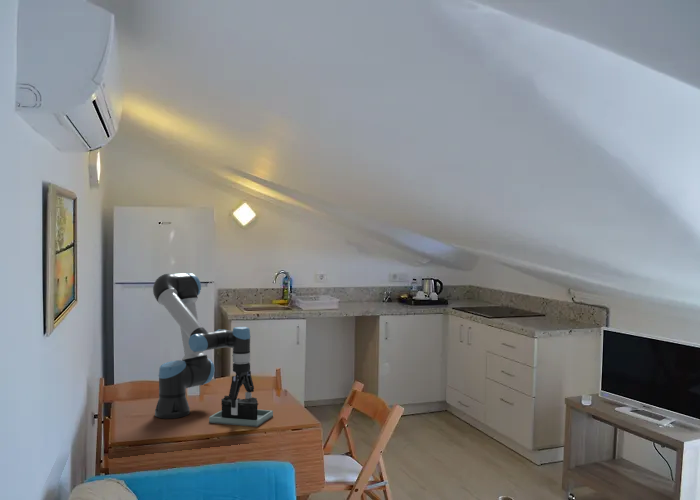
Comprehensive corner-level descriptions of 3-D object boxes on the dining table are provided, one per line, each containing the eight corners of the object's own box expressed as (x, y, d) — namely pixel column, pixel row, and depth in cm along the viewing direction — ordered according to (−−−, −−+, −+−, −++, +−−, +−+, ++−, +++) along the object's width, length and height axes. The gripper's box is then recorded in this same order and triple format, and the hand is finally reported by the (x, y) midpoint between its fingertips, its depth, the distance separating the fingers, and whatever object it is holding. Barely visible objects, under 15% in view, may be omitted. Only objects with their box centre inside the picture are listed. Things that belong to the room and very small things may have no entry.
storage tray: (209, 422, 255) (209, 416, 255) (227, 412, 270) (227, 407, 270) (257, 426, 248) (257, 420, 248) (272, 416, 264) (272, 410, 264)
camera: (264, 416, 262) (264, 393, 262) (256, 422, 253) (256, 399, 253) (228, 413, 266) (228, 391, 266) (218, 419, 257) (218, 396, 257)
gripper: (246, 357, 272) (246, 403, 272) (220, 367, 248) (220, 417, 248) (261, 357, 270) (261, 404, 270) (236, 368, 246) (236, 419, 246)
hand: (241, 410), depth 259 cm, fingers open, 13 cm apart
